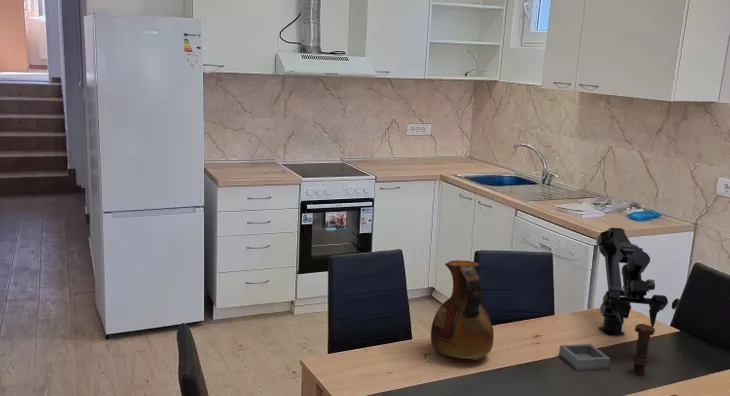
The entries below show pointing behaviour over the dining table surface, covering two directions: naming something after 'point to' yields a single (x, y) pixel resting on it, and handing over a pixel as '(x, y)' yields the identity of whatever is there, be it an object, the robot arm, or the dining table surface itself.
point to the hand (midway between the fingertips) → (637, 325)
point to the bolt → (642, 347)
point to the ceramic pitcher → (463, 317)
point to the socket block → (584, 357)
